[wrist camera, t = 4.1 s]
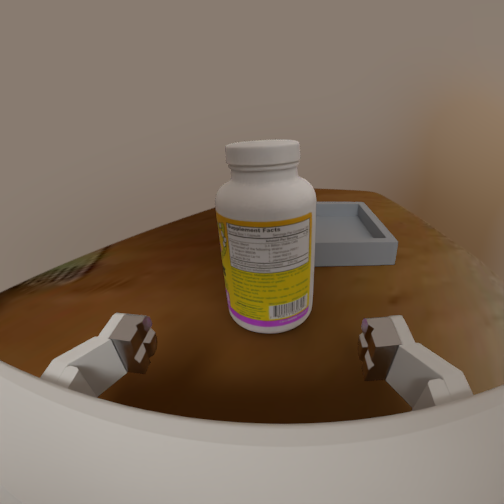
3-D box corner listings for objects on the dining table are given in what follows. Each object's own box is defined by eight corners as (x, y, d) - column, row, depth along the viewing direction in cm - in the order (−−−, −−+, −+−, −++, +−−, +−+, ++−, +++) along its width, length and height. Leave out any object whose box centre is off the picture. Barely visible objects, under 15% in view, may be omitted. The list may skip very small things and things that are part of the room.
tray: (262, 267, 29) (261, 243, 28) (268, 219, 42) (267, 202, 40) (394, 264, 28) (398, 242, 26) (362, 218, 40) (363, 202, 39)
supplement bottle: (249, 282, 27) (239, 139, 21) (320, 294, 24) (324, 139, 18) (213, 325, 21) (188, 150, 16) (297, 347, 19) (300, 147, 13)
